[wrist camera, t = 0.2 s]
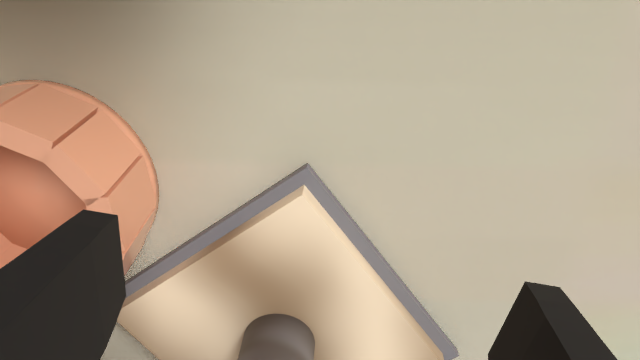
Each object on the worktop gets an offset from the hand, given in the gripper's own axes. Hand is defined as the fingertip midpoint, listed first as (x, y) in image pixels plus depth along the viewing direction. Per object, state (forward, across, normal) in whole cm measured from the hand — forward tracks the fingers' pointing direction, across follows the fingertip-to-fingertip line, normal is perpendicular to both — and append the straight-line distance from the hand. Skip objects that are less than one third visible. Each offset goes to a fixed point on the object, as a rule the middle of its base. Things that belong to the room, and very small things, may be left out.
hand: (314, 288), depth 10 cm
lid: (+8, +1, +12) cm, 14 cm away
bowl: (+10, +10, +6) cm, 15 cm away
